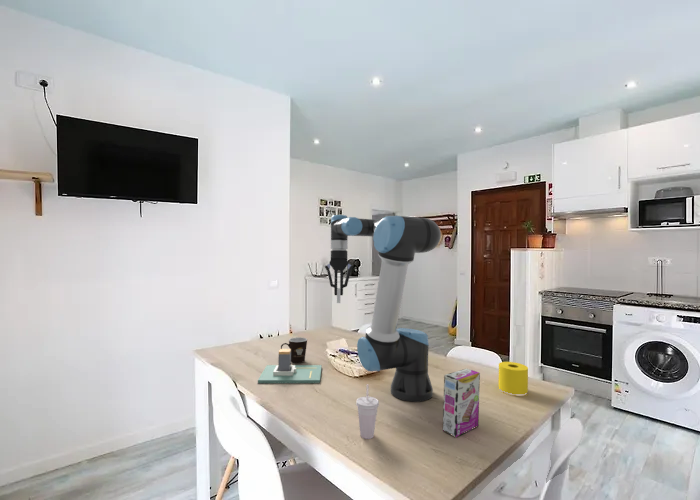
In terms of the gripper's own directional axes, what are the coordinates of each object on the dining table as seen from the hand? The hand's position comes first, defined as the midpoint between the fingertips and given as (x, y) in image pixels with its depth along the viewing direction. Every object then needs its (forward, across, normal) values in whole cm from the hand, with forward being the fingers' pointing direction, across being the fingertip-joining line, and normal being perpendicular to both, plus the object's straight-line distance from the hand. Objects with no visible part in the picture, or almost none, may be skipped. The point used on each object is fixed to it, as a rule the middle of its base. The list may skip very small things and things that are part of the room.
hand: (338, 302), depth 155 cm
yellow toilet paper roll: (+30, -65, +29) cm, 77 cm away
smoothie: (+30, -6, +58) cm, 65 cm away
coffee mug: (+29, +20, -10) cm, 36 cm away
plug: (+28, +22, +9) cm, 37 cm away
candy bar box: (+30, -34, +56) cm, 72 cm away
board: (+29, +20, +9) cm, 36 cm away
